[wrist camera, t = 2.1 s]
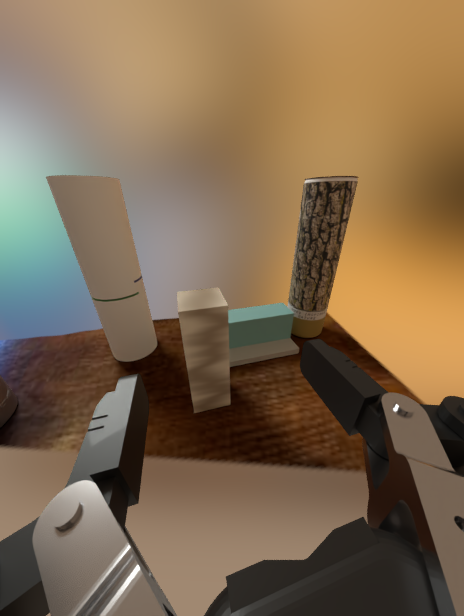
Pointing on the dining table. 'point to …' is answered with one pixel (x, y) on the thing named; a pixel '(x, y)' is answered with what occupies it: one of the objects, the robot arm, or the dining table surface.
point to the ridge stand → (260, 333)
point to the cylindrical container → (107, 260)
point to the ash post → (206, 346)
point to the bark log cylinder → (318, 249)
